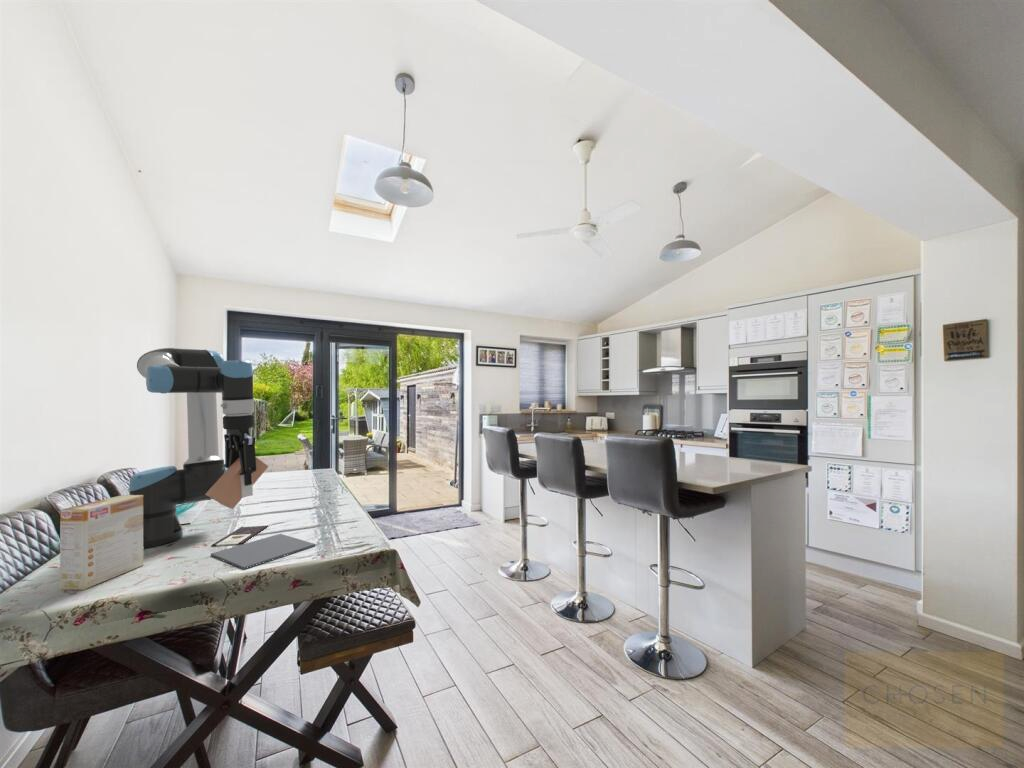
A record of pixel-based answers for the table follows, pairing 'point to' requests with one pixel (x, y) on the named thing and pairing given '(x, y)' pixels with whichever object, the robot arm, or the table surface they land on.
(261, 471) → the wooden block
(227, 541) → the chocolate bar
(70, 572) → the coffeecake box
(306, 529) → the table surface
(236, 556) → the rubber mat
